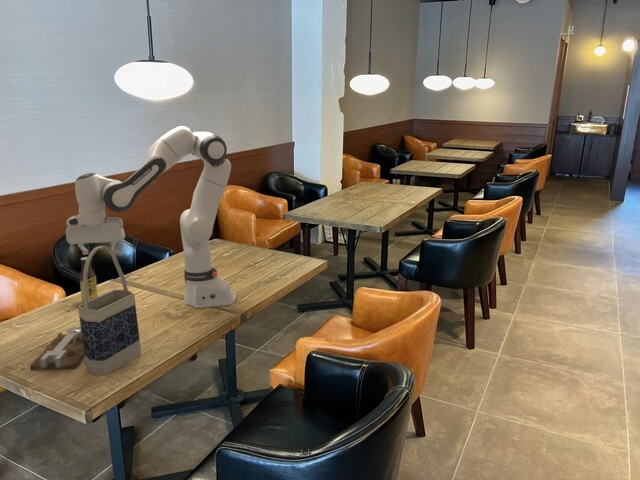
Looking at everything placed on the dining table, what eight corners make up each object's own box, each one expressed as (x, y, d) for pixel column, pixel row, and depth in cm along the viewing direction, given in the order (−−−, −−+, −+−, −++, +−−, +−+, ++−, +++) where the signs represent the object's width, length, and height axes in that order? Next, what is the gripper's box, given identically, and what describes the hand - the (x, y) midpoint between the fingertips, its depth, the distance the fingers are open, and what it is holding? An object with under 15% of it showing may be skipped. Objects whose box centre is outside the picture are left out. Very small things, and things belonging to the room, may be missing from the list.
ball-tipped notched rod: (69, 334, 183) (68, 327, 182) (86, 334, 183) (85, 326, 182) (41, 367, 160) (40, 359, 160) (61, 366, 161) (59, 358, 160)
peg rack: (98, 337, 184) (97, 324, 183) (76, 368, 163) (74, 354, 162) (58, 338, 183) (57, 326, 182) (30, 370, 162) (28, 356, 160)
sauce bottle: (92, 306, 211) (86, 261, 205) (79, 305, 212) (73, 260, 207) (101, 300, 217) (96, 256, 212) (88, 299, 218) (83, 255, 213)
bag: (102, 378, 158) (86, 256, 147) (82, 371, 161) (65, 252, 150) (144, 352, 174) (133, 240, 163) (125, 347, 177) (113, 237, 166)
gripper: (124, 214, 190) (129, 249, 194) (68, 217, 188) (74, 252, 192) (119, 218, 184) (124, 254, 188) (61, 221, 182) (67, 257, 186)
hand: (98, 253), depth 190 cm, fingers open, 8 cm apart
